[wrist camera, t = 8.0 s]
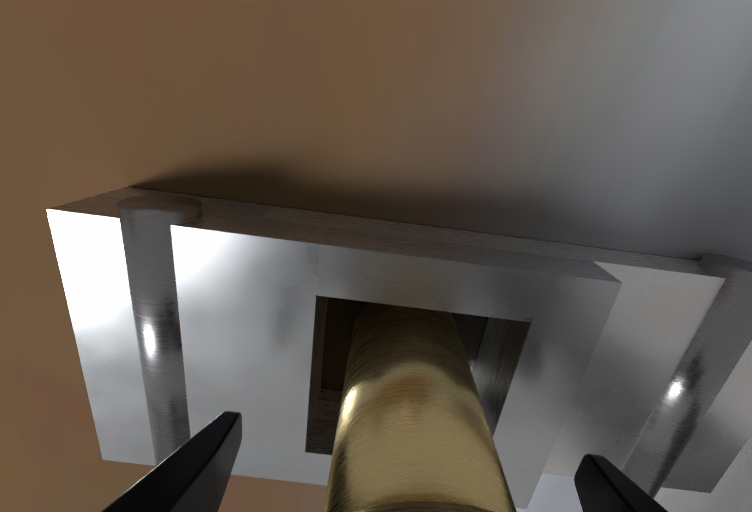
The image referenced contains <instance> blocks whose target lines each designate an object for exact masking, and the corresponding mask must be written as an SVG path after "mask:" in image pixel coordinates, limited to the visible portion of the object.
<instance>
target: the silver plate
mask: <svg viewBox="0 0 752 512" xmlns="http://www.w3.org/2000/svg"><path fill="white" fill-rule="evenodd" d="M47 214H48V218H49V223H50V227H51V231H52V236H53V240H54V245H55V249H56V254H57V258H58V263H59V267H60V271H61V276H62V280H63V285H64V289H65V294H66V298H67V303H68V307H69V312H70V316H71V320H72V325H73V329H74V334H75V338H76V343H77V347H78V352H79V356H80V360H81V365H82V369H83V374H84V378H85V383H86V387H87V392H88V396H89V400H90V405H91V409H92V414H93V418H94V423H95V427H96V432H97V436H98V440H99V445H100V449H101V454H102V458H103V460H111V461H119V462H128V463H136V464H145V465H154V466H155V467H156V466H158V465H159V464H160V463H161V462H163V461H164V460H165V459H166V458H167V457H169V456H170V455H171V454H172V453H174V452H175V451H176V450H177V449H178V448H180V447H181V446H182V445H183V444H185V443H186V442H187V441H188V440H189V439H191V438H192V437H193V436H194V435H196V434H197V433H198V432H199V431H200V430H202V429H203V428H204V427H205V426H207V425H208V424H209V423H210V422H211V421H213V420H214V419H215V418H216V417H218V416H219V415H220V414H221V413H223V412H224V411H236V412H240V413H241V415H242V441H241V445H240V448H239V451H238V454H237V457H236V460H235V463H234V466H233V469H232V472H231V475H240V476H249V477H257V478H266V479H275V480H283V481H292V482H301V483H309V484H318V485H326V486H327V485H328V479H329V473H330V467H331V461H332V454H333V448H334V442H335V436H336V430H337V424H338V418H339V411H340V405H341V399H342V393H343V391H337V390H329V389H321V377H322V366H323V354H324V342H325V331H326V319H327V307H328V297H334V298H342V299H349V300H357V301H365V302H373V303H381V304H389V305H397V306H405V307H413V308H421V309H429V310H437V311H445V312H453V313H461V314H469V315H477V316H485V317H488V321H487V324H486V328H485V331H484V335H483V339H482V342H481V346H480V349H479V353H478V356H477V360H476V363H475V367H474V371H473V374H472V375H473V378H474V382H475V385H476V388H477V391H478V394H479V397H480V400H481V403H482V406H483V410H484V413H485V416H486V419H487V422H488V425H489V428H490V431H491V434H492V437H493V441H494V444H495V447H496V450H497V453H498V456H499V459H500V462H501V465H502V468H503V472H504V475H505V478H506V481H507V484H508V487H509V490H510V493H511V496H512V499H513V503H514V506H515V507H516V508H525V509H527V507H528V504H529V502H530V500H531V497H532V495H533V493H534V490H535V488H536V486H537V483H538V481H539V478H540V476H541V474H542V473H545V474H554V475H562V476H571V477H575V473H576V471H577V469H578V466H579V464H580V462H581V460H582V458H583V456H584V455H585V454H596V455H601V456H604V457H605V458H606V459H608V460H609V461H610V462H611V463H612V464H613V465H614V466H616V467H617V468H618V469H619V470H620V471H621V472H623V473H624V474H625V475H626V476H627V477H628V478H630V479H631V480H632V481H633V482H634V483H635V484H636V485H638V486H639V487H640V488H641V489H642V490H643V491H645V492H646V493H647V494H648V495H649V496H650V497H652V498H653V499H654V497H655V496H656V494H657V493H658V491H659V489H660V488H661V487H664V488H673V489H681V490H690V491H698V492H707V493H711V491H712V490H713V489H714V487H715V486H716V484H717V483H718V481H719V480H720V479H721V477H722V476H723V474H724V473H725V471H726V470H727V469H728V467H729V466H730V464H731V463H732V461H733V460H734V459H735V457H736V456H737V454H738V453H739V451H740V450H741V449H742V447H743V446H744V444H745V443H746V441H747V440H748V439H749V437H750V436H751V434H752V263H751V262H748V261H744V260H740V259H736V258H732V257H727V256H722V255H715V254H705V255H703V257H702V259H701V261H695V260H687V259H679V258H672V257H664V256H656V255H648V254H641V253H633V252H625V251H618V250H610V249H602V248H594V247H587V246H579V245H571V244H564V243H556V242H548V241H540V240H533V239H525V238H517V237H510V236H502V235H494V234H486V233H479V232H471V231H463V230H455V229H448V228H440V227H432V226H425V225H417V224H409V223H401V222H394V221H386V220H378V219H371V218H363V217H355V216H347V215H340V214H332V213H324V212H317V211H309V210H301V209H293V208H286V207H278V206H270V205H263V204H255V203H247V202H239V201H232V200H224V199H216V198H208V197H201V196H193V195H185V194H178V193H170V192H162V191H154V190H147V189H139V188H131V187H124V188H121V189H117V190H113V191H110V192H106V193H103V194H99V195H96V196H92V197H89V198H85V199H81V200H78V201H74V202H71V203H67V204H64V205H60V206H57V207H53V208H49V209H47Z"/></svg>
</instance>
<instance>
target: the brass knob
mask: <svg viewBox="0 0 752 512" xmlns="http://www.w3.org/2000/svg"><path fill="white" fill-rule="evenodd" d="M323 512H516V509H515V506H514V503H513V499H512V496H511V493H510V490H509V487H508V484H507V481H506V478H505V475H504V472H503V468H502V465H501V462H500V459H499V456H498V453H497V450H496V447H495V444H494V441H493V437H492V434H491V431H490V428H489V425H488V422H487V419H486V416H485V413H484V410H483V406H482V403H481V400H480V397H479V394H478V391H477V388H476V385H475V382H474V378H473V375H472V372H471V369H470V366H469V363H468V360H467V357H466V354H465V351H464V347H463V344H462V341H461V338H460V335H459V332H458V329H457V326H456V323H455V320H454V317H453V315H452V313H451V312H445V311H437V310H429V309H421V308H413V307H405V306H397V305H389V304H381V303H373V302H368V303H367V304H366V305H365V306H364V307H363V308H362V309H361V311H360V312H359V313H358V315H357V317H356V319H355V322H354V326H353V332H352V338H351V344H350V350H349V356H348V362H347V368H346V375H345V381H344V387H343V393H342V399H341V405H340V411H339V418H338V424H337V430H336V436H335V442H334V448H333V454H332V461H331V467H330V473H329V479H328V485H327V491H326V497H325V504H324V510H323Z"/></svg>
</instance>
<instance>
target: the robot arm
mask: <svg viewBox="0 0 752 512" xmlns="http://www.w3.org/2000/svg"><path fill="white" fill-rule="evenodd" d="M241 441H242V415H241V413H240V412H236V411H224V412H223V413H221V414H220V415H219V416H218V417H216V418H215V419H214V420H213V421H211V422H210V423H209V424H208V425H207V426H205V427H204V428H203V429H202V430H200V431H199V432H198V433H197V434H196V435H194V436H193V437H192V438H191V439H189V440H188V441H187V442H186V443H185V444H183V445H182V446H181V447H180V448H178V449H177V450H176V451H175V452H174V453H172V454H171V455H170V456H169V457H167V458H166V459H165V460H164V461H163V462H161V463H160V464H159V465H158V466H156V467H155V468H154V469H153V470H152V471H150V472H149V473H148V474H147V475H146V476H144V477H143V478H142V479H141V480H139V481H138V482H137V483H136V484H135V485H133V486H132V487H131V488H130V489H128V490H127V491H126V492H125V493H124V494H122V495H121V496H120V497H119V498H117V499H116V500H115V501H114V502H113V503H111V504H110V505H109V506H108V507H106V508H105V509H104V510H103V511H102V512H218V509H219V507H220V504H221V501H222V498H223V495H224V492H225V489H226V486H227V483H228V481H229V478H230V475H231V472H232V469H233V466H234V463H235V460H236V457H237V454H238V451H239V448H240V445H241ZM574 481H575V486H576V490H577V493H578V496H579V500H580V503H581V506H582V510H583V512H668V511H667V510H665V509H664V508H663V507H662V506H661V505H660V504H658V503H657V502H656V501H655V500H654V499H653V498H652V497H650V496H649V495H648V494H647V493H646V492H645V491H643V490H642V489H641V488H640V487H639V486H638V485H636V484H635V483H634V482H633V481H632V480H631V479H630V478H628V477H627V476H626V475H625V474H624V473H623V472H621V471H620V470H619V469H618V468H617V467H616V466H614V465H613V464H612V463H611V462H610V461H609V460H608V459H606V458H605V457H604V456H601V455H596V454H585V455H584V456H583V458H582V460H581V462H580V464H579V466H578V469H577V471H576V473H575V477H574Z"/></svg>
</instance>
